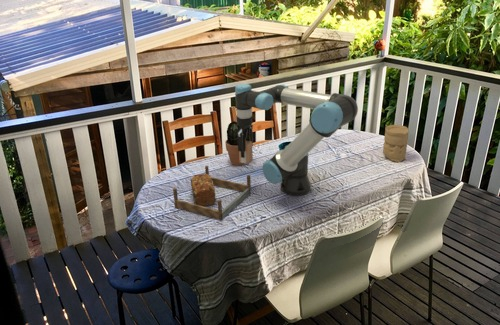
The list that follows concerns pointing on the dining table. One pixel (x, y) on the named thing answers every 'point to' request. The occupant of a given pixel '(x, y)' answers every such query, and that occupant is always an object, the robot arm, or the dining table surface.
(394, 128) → the container
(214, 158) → the dining table surface
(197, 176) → the bread
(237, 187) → the bay
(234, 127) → the potted plant
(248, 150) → the tan rectangular block
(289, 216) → the dining table surface
